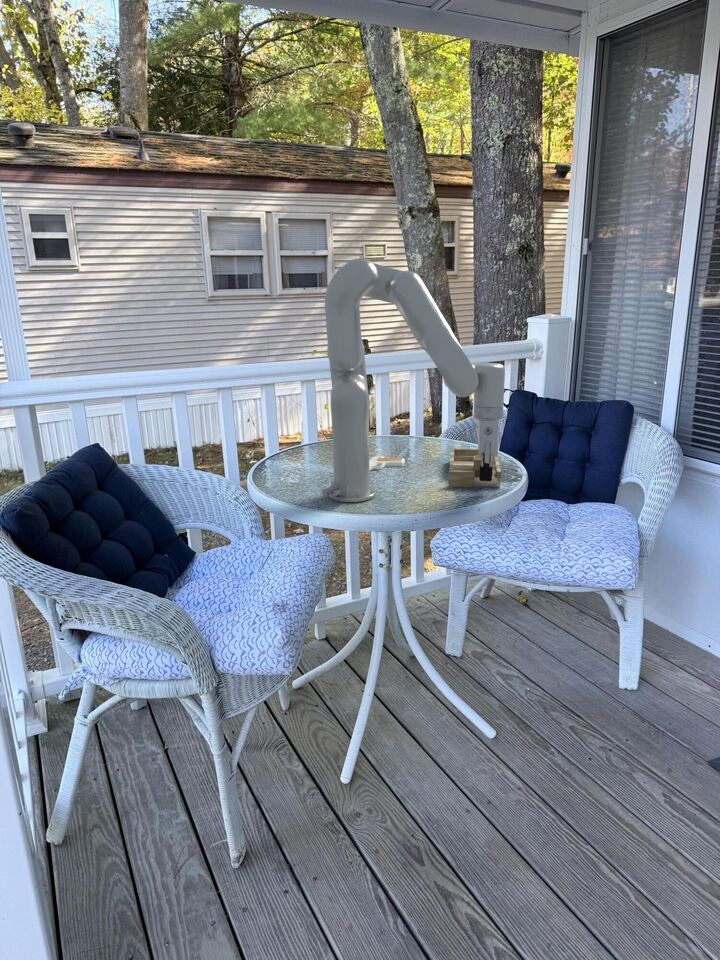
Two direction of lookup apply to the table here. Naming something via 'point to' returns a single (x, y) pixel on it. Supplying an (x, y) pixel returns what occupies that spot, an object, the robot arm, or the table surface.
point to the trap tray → (470, 470)
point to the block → (477, 465)
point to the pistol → (385, 462)
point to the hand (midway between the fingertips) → (485, 480)
